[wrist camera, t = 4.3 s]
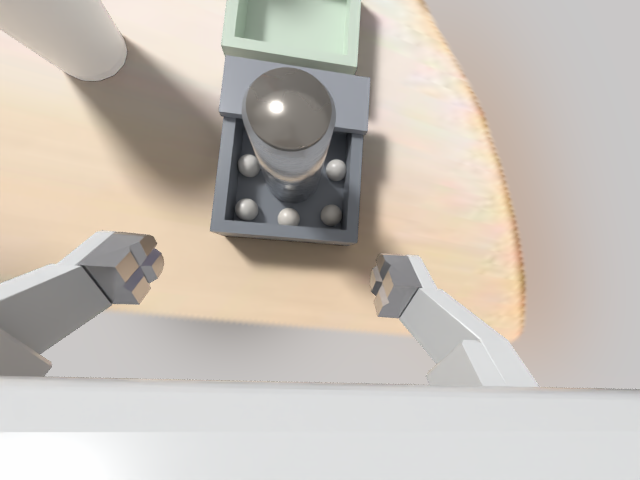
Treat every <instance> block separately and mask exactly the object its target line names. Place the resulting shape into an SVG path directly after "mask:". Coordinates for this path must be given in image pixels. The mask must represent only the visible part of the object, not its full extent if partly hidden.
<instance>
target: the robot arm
mask: <svg viewBox="0 0 640 480" xmlns="http://www.w3.org/2000/svg"><path fill="white" fill-rule="evenodd" d="M156 245H157V242H156V240H155V238H154V237H153V236H151V235H146V234H136V233H126V232H113V231H104V230H102V231H98V232H96V233H94V234H93V235H92V236H91V237H89V238H88V239H87V240H86V241H85V242H83V243H82V244H81V245H80V246H78V247H77V248H76V249H75V250H73V251H72V252H71V253H70V254H68V255H67V256H66V257H65V258H63V259H62V260H61V261H60V262H58V263H57V264H49V265H46V266H44V267H41V268H39V269H36V270H34V271H31V272H28V273H26V274H23V275H21V276H18V277H15V278H13V279H10V280H8V281H5V282H2V283H0V480H640V389H604V388H557V387H556V388H555V387H539V385H538V384H537V382H536V381H535V379H534V378H533V376H532V375H531V373H530V372H529V370H528V369H527V367H526V366H525V365H524V363H523V362H522V360H521V359H520V357H519V356H518V355H517V353H516V351H515V350H514V348H513V347H512V345H511V344H510V342H509V341H508V340H507V339H505V338H504V337H503V336H502V335H500V334H499V333H498V332H496V331H495V330H494V329H492V328H491V327H490V326H489V325H487V324H486V323H485V322H483V321H482V320H481V319H479V318H478V317H477V316H476V315H474V314H473V313H472V312H470V311H469V310H468V309H467V308H465V307H464V306H463V305H461V304H460V303H459V302H457V301H456V300H455V299H454V298H452V297H451V296H450V295H448V294H447V293H446V292H444V291H443V290H442V289H437V287H436V285H435V283H434V281H433V279H432V278H431V276H430V274H429V272H428V270H427V268H426V266H425V264H424V263H423V261H422V259H421V257H419V256H416V255H398V254H384V253H380V254H379V255H378V256H377V259H376V263H377V266H375V267H374V268H372V271H371V274H370V288H371V292H372V293H373V294H374V295H375V296H376V297H375V300H374V304H375V308H376V312H377V316H378V317H389V318H400V319H399V320H400V321H401V322H402V323H403V325H404V326H405V327H406V328H407V329H408V331H409V332H410V333H411V334H412V335H413V337H414V338H415V339H416V340H417V341H418V343H419V344H420V345H421V346H422V347H423V349H424V350H425V351H426V352H427V353H428V354H429V356H430V357H431V358H432V360H433V361H434V362H435V363H436V365H435V366H434V367H433V368H432V369H431V370H430V371H429V372H428V373H427V375H426V377H427V380H428V383H429V385H416V384H414V385H412V384H369V383H322V382H321V383H320V382H275V381H271V382H270V381H226V380H179V379H178V380H177V379H131V378H130V379H129V378H84V377H83V378H82V377H44V376H45V374H46V373H47V372H48V371H49V370H50V368H51V367H52V365H51V362H50V361H49V360H47V359H46V358H44V357H43V356H41V355H40V354H41V353H43V352H44V351H45V350H47V349H48V348H50V347H51V346H53V345H54V344H56V343H57V342H59V341H60V340H62V339H63V338H64V337H66V336H67V335H69V334H70V333H72V332H73V331H75V330H76V329H78V328H79V327H80V326H82V325H83V324H85V323H86V322H88V321H89V320H91V319H92V318H94V317H95V316H97V315H98V314H100V313H101V312H103V311H104V310H105V309H107V308H108V307H110V306H111V305H112V304H140V303H141V302H142V300H143V299H144V297H145V296H146V294H147V293H148V292H149V290H150V289H151V287H150V283H151V282H152V281H154V280H156V279H158V277H159V276H160V274H161V273H162V270H163V266H164V259H163V256H162V253H161V252H159V251H158V250H157V249H155V247H156Z"/></svg>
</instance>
